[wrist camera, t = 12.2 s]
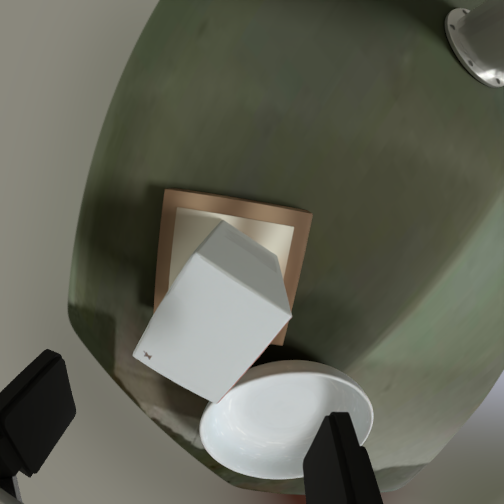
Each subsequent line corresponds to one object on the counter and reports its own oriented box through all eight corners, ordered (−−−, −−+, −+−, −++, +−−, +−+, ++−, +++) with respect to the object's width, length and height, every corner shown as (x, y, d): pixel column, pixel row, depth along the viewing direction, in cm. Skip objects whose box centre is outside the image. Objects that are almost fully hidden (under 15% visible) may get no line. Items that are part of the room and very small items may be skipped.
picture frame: (307, 210, 30) (313, 214, 27) (280, 332, 33) (282, 346, 30) (173, 188, 30) (164, 189, 27) (161, 310, 33) (152, 322, 30)
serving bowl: (180, 411, 37) (169, 445, 30) (268, 306, 33) (270, 337, 26) (294, 460, 39) (297, 492, 33) (388, 380, 35) (406, 411, 28)
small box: (232, 319, 30) (216, 407, 17) (179, 285, 29) (128, 356, 16) (279, 255, 28) (295, 316, 15) (222, 216, 27) (190, 249, 14)
